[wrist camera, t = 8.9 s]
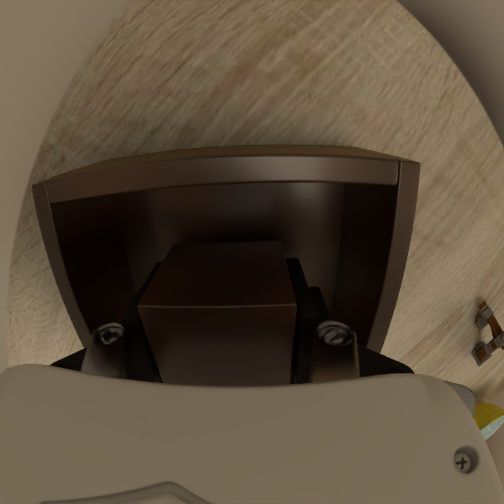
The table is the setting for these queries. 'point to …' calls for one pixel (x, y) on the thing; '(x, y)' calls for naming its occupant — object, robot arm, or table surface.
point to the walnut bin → (234, 223)
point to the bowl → (488, 418)
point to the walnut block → (221, 315)
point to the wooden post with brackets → (499, 336)
